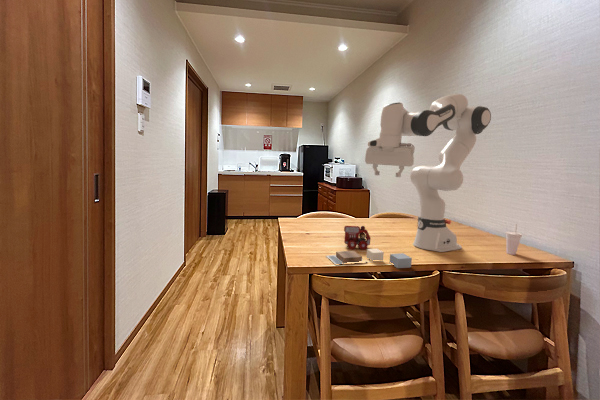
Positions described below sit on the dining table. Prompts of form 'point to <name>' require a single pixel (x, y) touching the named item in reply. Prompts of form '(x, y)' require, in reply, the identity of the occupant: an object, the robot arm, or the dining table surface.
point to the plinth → (348, 256)
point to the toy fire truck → (356, 237)
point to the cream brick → (375, 254)
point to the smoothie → (512, 241)
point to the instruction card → (334, 259)
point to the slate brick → (400, 260)
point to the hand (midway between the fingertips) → (387, 176)
